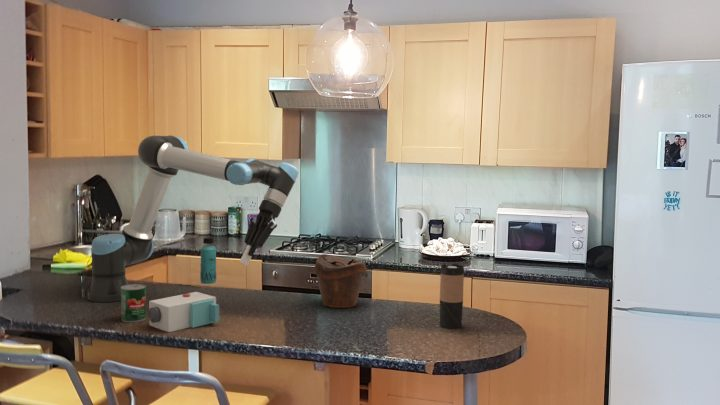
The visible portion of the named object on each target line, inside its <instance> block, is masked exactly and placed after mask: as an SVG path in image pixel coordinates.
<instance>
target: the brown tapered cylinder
mask: <svg viewBox="0 0 720 405" xmlns="http://www.w3.org/2000/svg"><path fill="white" fill-rule="evenodd" d="M313 272H314V274H315V275H316V278H317V282H318V287H319V291H320V296H321V302H322V305H323V306H325V307H329V308H336V309H339V308H340V309H343V308H345V309H346V308H347V309H348V308H353V307H355V306H357V304H358V299H359V294H360V290H361V286H362V281H363V277H364V278H366V279H367V278H368V276H369V275H368V269H367V266H366V264H365V263H364V262H363V261H358V262H357V260H356V259H354V258H352V259H351V260H349V259H346V258H342V257H338V256H336V255H332V254H327V253H326V254H325V253H324V254H320V255H319V256H318V257H317V258H316V261H315V265H314V268H313Z"/></svg>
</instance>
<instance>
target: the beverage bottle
mask: <svg viewBox="0 0 720 405" xmlns="http://www.w3.org/2000/svg"><path fill="white" fill-rule="evenodd" d="M214 241H215V240H214V238H213V237H203V242H202V243H203V244H207V245H203V246H202V247H201V248H200V274H199V275H200V278H199V279H200V283H201V284H203V285H211V284H215V283H216V282H217V248H216V247H215V245H210V244H214Z"/></svg>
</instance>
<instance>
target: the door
mask: <svg viewBox="0 0 720 405" xmlns="http://www.w3.org/2000/svg"><path fill="white" fill-rule="evenodd" d="M218 322H220V304H218V303H216V304H215V303H214V300H211V299H210V300H205V301H201V302H196V303H191V304H190V327H189V328H192V329H193V328H198V327H201V326H205V325H209V324H214V323H218Z"/></svg>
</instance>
